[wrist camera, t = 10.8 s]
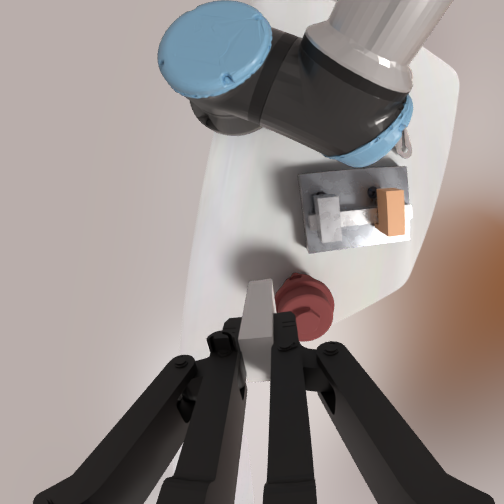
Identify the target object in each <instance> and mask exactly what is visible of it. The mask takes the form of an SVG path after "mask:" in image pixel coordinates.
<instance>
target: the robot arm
mask: <svg viewBox="0 0 504 504" xmlns="http://www.w3.org/2000/svg"><path fill="white" fill-rule="evenodd" d="M452 2H453V0H337V2H336V4H335V6H334V8H333V10H332V12H331V15H330V17H329V19H328V20H327V21H324V22H320V23H317V24H313V25H310V26H308V27H307V29H306V31H305V34H304V36H303V38H300V37H297V36H294V35H292V34H289V33H286V32H283V31H281V30H278V29H275V28H271V26H270V24H269V22H268V21H267V19H265V18H264V17H263V16H262V14H261V13H260V12H259V11H258V10H257V9H255V8H254V7H252V6H250V5H248V4H245V3H242V2H238V1H229V0H221V1H213V2H208V3H205V4H202V5H199V6H197V8H196V9H194V10H192V11H189V12H186V13H184V14H183V15H181V16H180V17H179V18H177V19H176V20H175V21H174V22H173V23H172V24H171V25H170V27H169V28H168V30H167V31H166V32H165V34H164V36H163V37H162V40H161V42H160V45H159V49H158V64H159V68H160V71H161V73H162V75H163V77H164V78H165V80H166V81H167V82H168V84H169V85H170V86H171V87H172V89H174V90H175V92H177V93H180V94H181V95H183V96H185V97H186V98H187V99H189V100H190V104H191V107H192V110H193V112H194V114H195V115H196V117H197V118H198V119H199V121H200V122H201V123H202V124H204V125H205V126H206V127H208V128H210V129H211V130H213V131H215V132H217V133H220V134H223V135H229V136H240V135H246V134H250V133H252V132H255V131H257V130H259V129H261V128H262V127H264V128H267V129H269V130H272V131H274V132H276V133H279V134H281V135H283V136H286V137H288V138H290V139H292V140H294V141H297V142H299V143H301V144H303V145H305V146H307V147H309V148H311V149H314V150H316V151H318V152H320V153H321V154H322V155H323V156H325V157H327V158H330V159H336V160H338V161H340V162H342V163H344V164H346V165H348V166H351V167H365V166H369V165H371V164H373V163H375V162H377V161H378V160H380V159H381V158H382V157H384V156H385V155H386V154H387V153H388V152H389V151H390V150H391V149H392V148H393V147H394V146H395V145H396V144H397V142H398V141H399V140H400V138H401V137H402V130H404V129H405V128H406V127H407V126H408V124H409V122H410V120H411V117H412V112H413V103H412V99H411V97H410V96H409V94H408V93H409V92H410V91H411V89H412V87H413V82H412V78H411V74H410V71H409V64H410V63H411V61H412V60H413V59H414V57H415V56H416V54H417V53H418V51H419V50H420V49H421V47H422V46H423V44H424V43H425V41H426V40H427V38H428V37H429V36H430V34H431V32H432V31H433V30H434V28H435V27H436V25H437V24H438V22H439V21H440V19H441V18H442V16H443V15H444V13H445V12H446V10H447V9H448V8H449V6H450V4H451V3H452ZM207 343H208V346H209V349H210V357H208V358H205V359H202V360H198V361H195V360H194V358H193V357H192V356H189V355H180V356H177V357H175V358H173V359H172V360H171V361H170V362H169V363H168V364H167V365H166V366H165V367H164V369H163V370H162V371H161V372H160V374H159V375H158V376H157V377H156V378H155V379H154V380H153V382H152V383H151V384H150V385H149V386H148V388H147V389H146V390H145V391H144V392H143V393H142V395H141V396H140V397H139V398H138V399H137V400H136V402H135V403H134V404H133V405H132V406H131V408H130V409H129V410H128V411H127V412H126V413H125V415H124V416H123V417H122V418H121V419H120V420H119V422H118V423H117V424H116V425H115V426H114V427H113V429H112V430H111V431H110V432H109V433H108V434H107V436H106V437H105V438H104V439H103V440H102V441H101V443H100V444H99V445H98V446H97V447H96V448H95V450H94V451H93V452H92V453H91V454H90V455H89V457H88V458H87V459H86V460H85V461H84V462H83V463H82V465H81V466H80V467H79V468H78V469H77V470H76V472H75V473H74V474H73V475H72V476H70V477H68V478H66V479H65V480H63V481H61V482H59V483H57V484H56V485H54V486H52V487H50V488H48V489H46V490H44V491H42V492H41V493H39V494H38V495H36V497H35V498H34V501H33V504H144V502H145V501H146V499H147V498H148V496H149V495H150V493H151V492H152V490H153V489H154V487H155V486H156V484H157V483H158V481H159V479H160V478H161V476H162V475H163V473H164V472H165V470H166V469H167V467H168V466H169V464H170V462H171V461H172V459H173V458H174V456H175V455H176V453H177V452H178V450H179V448H180V447H181V445H182V444H183V446H182V450H181V453H180V456H179V460H178V463H177V467H176V470H175V473H174V475H173V476H172V477H169V478H166V479H165V480H164V483H163V484H162V487H161V490H160V493H159V496H158V500H157V503H156V504H234V500H235V492H236V484H237V475H238V467H239V459H240V450H241V441H242V432H243V423H244V415H245V406H246V397H247V386H246V376H247V380H248V382H262V381H270V417H269V444H268V446H269V447H268V468H267V482H266V484H265V486H264V493H263V504H317V497H316V485H315V479H314V469H313V457H312V447H311V436H310V427H309V426H310V425H309V416H308V407H307V398H306V390H307V391H317V392H318V396H319V397H320V399H321V401H322V403H323V404H324V407H325V409H326V410H327V412H328V414H329V416H330V418H331V419H332V421H333V423H334V425H335V426H336V429H337V431H338V432H339V434H340V436H341V438H342V440H343V442H344V443H345V445H346V447H347V449H348V450H349V452H350V454H351V456H352V458H353V459H354V462H355V463H356V465H357V467H358V469H359V471H360V472H361V474H362V476H363V477H364V479H365V481H366V483H367V485H368V487H369V488H370V490H371V492H372V494H373V495H374V497H375V499H376V501H377V503H378V504H495V502H494V500H493V498H492V497H491V496H490V495H488V494H486V493H484V492H482V491H480V490H478V489H476V488H474V487H472V486H469V485H467V484H466V483H464V482H462V481H460V480H458V479H456V478H454V477H452V476H451V475H449V474H447V473H446V472H445V471H444V470H443V468H442V467H441V466H440V465H439V463H438V462H437V461H436V460H435V458H434V457H433V456H432V454H431V453H430V452H429V450H428V449H427V448H426V447H425V445H424V444H423V443H422V442H421V440H420V439H419V438H418V437H417V435H416V434H415V433H414V431H413V430H412V429H411V428H410V426H409V425H408V424H407V423H406V421H405V420H404V419H403V418H402V416H401V415H400V414H399V413H398V411H397V410H396V409H395V408H394V406H393V405H392V404H391V403H390V401H389V400H388V399H387V398H386V396H385V395H384V394H383V393H382V391H381V390H380V389H379V388H378V387H377V385H376V384H375V383H374V381H373V380H372V379H371V378H370V377H369V375H368V374H367V373H366V372H365V370H364V369H363V368H362V367H361V365H360V364H359V363H358V362H357V361H356V359H355V358H354V357H353V356H352V354H351V353H350V352H349V351H348V349H347V348H346V347H345V346H344V345H343V344H342V343H339V342H332V341H330V342H325V343H323V344H321V345H320V346H318V347H317V350H316V349H308V348H305V347H303V346H302V345H301V344H300V342H299V338H298V331H297V324H296V317H295V315H294V314H293V313H292V312H291V311H288V312H280V313H276V305H275V298H274V291H273V284H272V279H263V280H255V281H249V284H248V289H247V294H246V300H245V305H244V310H243V316H242V317H238V318H229V319H228V320H227V321H226V322H225V323H224V326H223V330H222V331H217V332H214V333H212V334H211V335H209V336H208V338H207ZM183 442H184V443H183Z"/></svg>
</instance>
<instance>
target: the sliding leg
mask: <svg viewBox="0 0 504 504" xmlns="http://www.w3.org/2000/svg"><path fill="white" fill-rule="evenodd" d="M376 190H377V203H378V221H379V223H374V224H375V228H376V229H378V230H379V231H380V232H381V233H383V234H384V235H386V236H388V237H393V236H400V235H405V204H404V190H401V189H397V188H382V189H381V188H380V189H376Z"/></svg>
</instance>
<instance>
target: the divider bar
mask: <svg viewBox="0 0 504 504" xmlns="http://www.w3.org/2000/svg"><path fill="white" fill-rule="evenodd" d="M313 197H314V206H315V213H308V222H309V229H310V230H311V231H314V230H317V234H318V237H319V239H320V241H321V242H322V243H327V242H335V241H342V230H341V227H346V226H354V225H362V224H371V223H379V221H378V206H370V207H360V208H351V209H342V210H340V206H339V196H337V195H334V194H324V195H323V194H319V195H315V196H313ZM404 204H405V219H412V204H409V203H404Z"/></svg>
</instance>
